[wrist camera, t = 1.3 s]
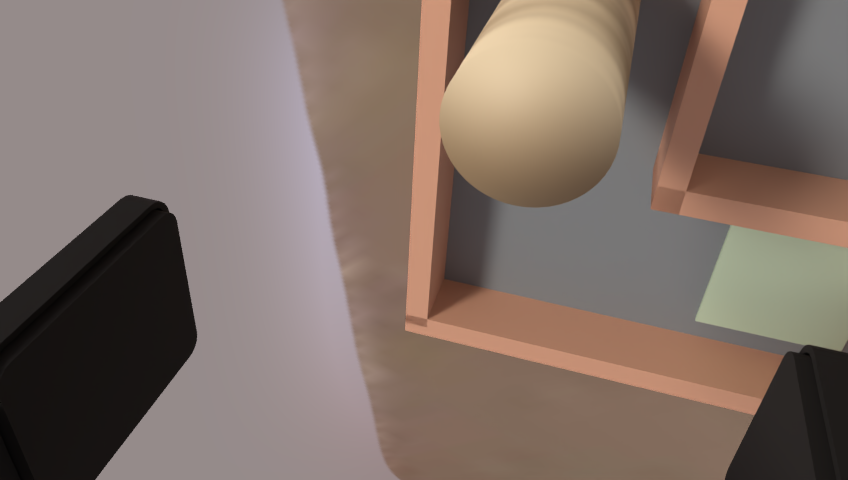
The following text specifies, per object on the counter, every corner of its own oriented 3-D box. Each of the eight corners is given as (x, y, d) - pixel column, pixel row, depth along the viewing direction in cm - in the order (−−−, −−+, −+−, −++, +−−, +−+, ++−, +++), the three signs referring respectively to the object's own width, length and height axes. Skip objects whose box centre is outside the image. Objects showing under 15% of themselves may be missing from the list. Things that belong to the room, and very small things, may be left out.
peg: (536, -94, 24) (445, 28, 15) (657, -79, 24) (640, 59, 14) (520, 22, 27) (434, 189, 18) (630, 39, 26) (600, 222, 17)
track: (462, -226, 23) (433, -217, 21) (1182, -163, 20) (1265, -140, 17) (424, 304, 37) (403, 353, 34) (841, 402, 33) (856, 465, 31)
